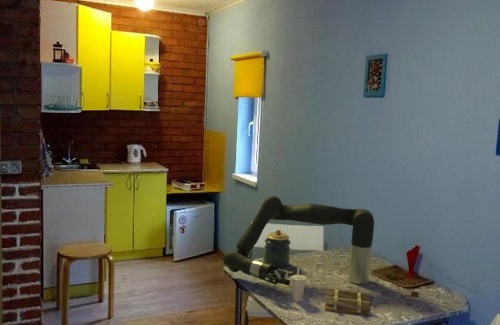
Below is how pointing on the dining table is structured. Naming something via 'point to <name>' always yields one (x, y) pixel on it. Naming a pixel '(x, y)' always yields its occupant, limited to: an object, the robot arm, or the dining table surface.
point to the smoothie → (298, 286)
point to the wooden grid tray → (347, 301)
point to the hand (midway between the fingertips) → (295, 280)
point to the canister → (277, 249)
